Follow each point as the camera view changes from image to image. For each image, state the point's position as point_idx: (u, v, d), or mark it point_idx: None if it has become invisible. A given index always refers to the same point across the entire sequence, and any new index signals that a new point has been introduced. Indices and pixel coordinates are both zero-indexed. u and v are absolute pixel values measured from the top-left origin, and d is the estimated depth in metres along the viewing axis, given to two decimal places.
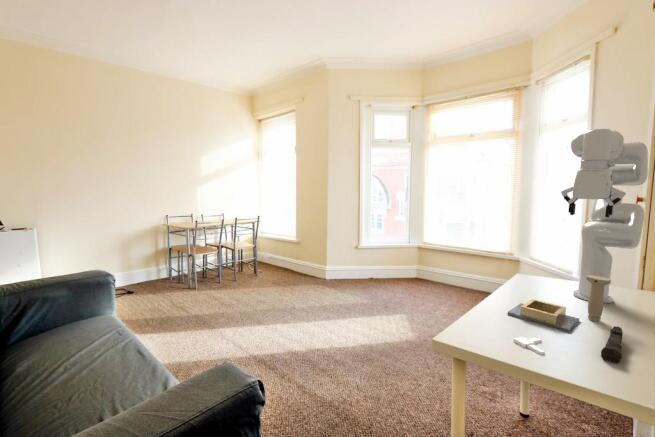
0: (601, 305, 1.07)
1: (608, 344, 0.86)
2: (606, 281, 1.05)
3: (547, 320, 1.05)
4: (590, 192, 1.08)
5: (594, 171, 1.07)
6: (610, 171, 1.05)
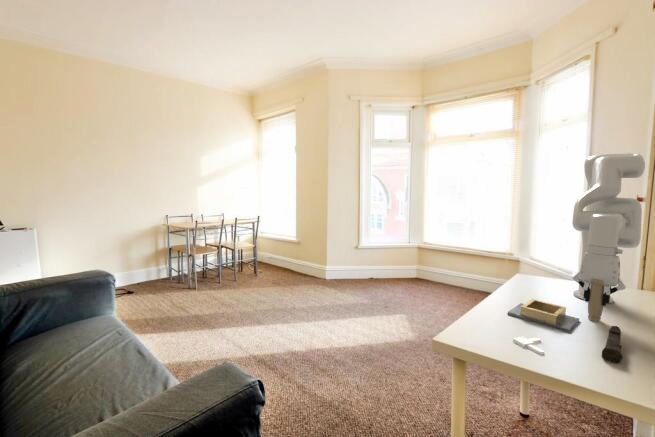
0: (601, 305, 1.07)
1: (608, 344, 0.86)
2: None
3: (547, 320, 1.05)
4: (597, 277, 1.06)
5: (601, 257, 1.05)
6: (618, 258, 1.03)
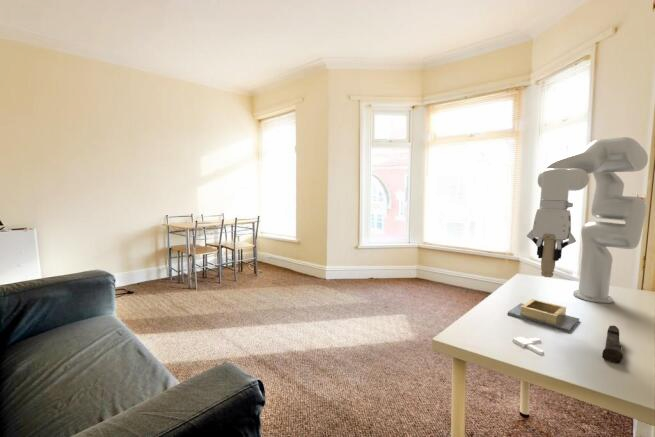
0: (552, 260, 1.07)
1: (608, 344, 0.86)
2: None
3: (547, 320, 1.05)
4: (549, 232, 1.06)
5: (552, 211, 1.05)
6: (568, 212, 1.03)
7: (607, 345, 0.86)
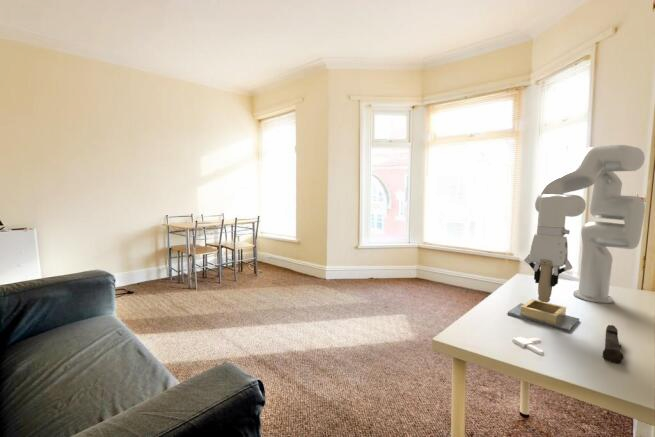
0: (549, 285, 1.07)
1: (608, 344, 0.86)
2: None
3: (547, 320, 1.05)
4: (546, 258, 1.07)
5: (549, 238, 1.06)
6: (565, 238, 1.04)
7: (607, 345, 0.86)
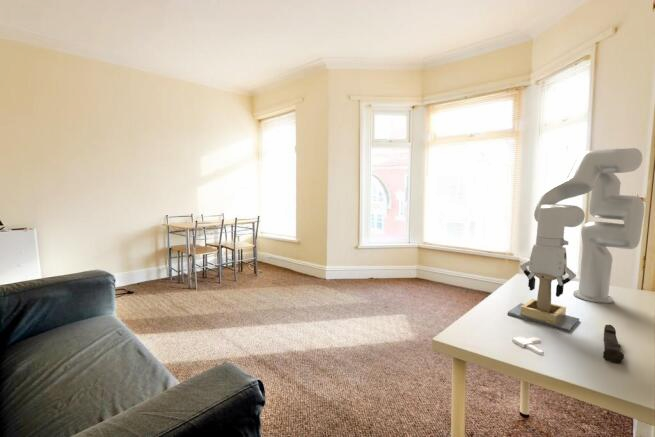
0: (548, 300, 1.08)
1: (608, 344, 0.86)
2: (552, 276, 1.06)
3: (547, 320, 1.05)
4: (545, 268, 1.07)
5: (548, 248, 1.06)
6: (564, 249, 1.04)
7: (607, 345, 0.86)
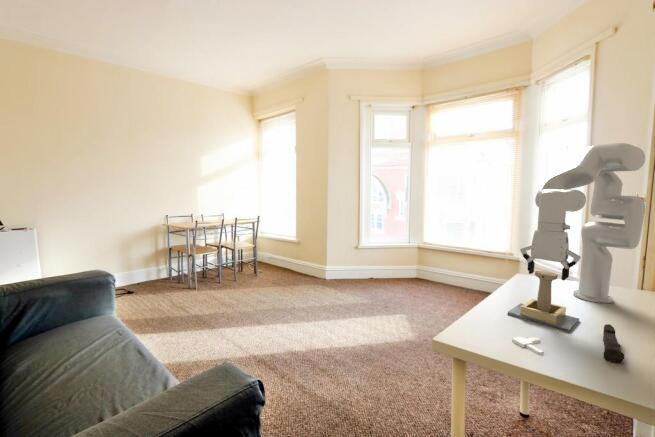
0: (548, 300, 1.08)
1: (608, 344, 0.86)
2: (552, 276, 1.06)
3: (547, 320, 1.05)
4: (547, 253, 1.07)
5: (550, 233, 1.05)
6: (565, 234, 1.04)
7: (607, 345, 0.86)
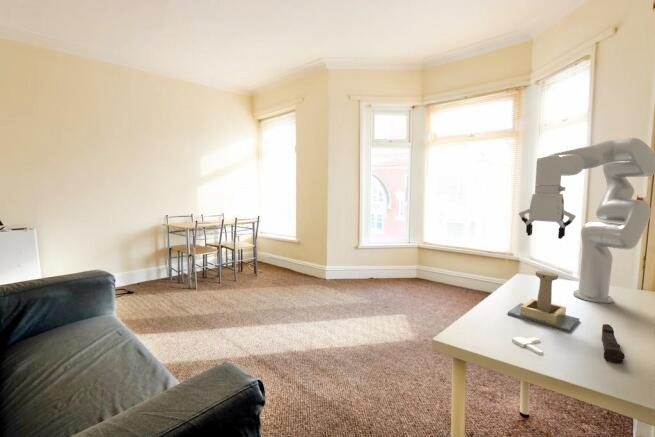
0: (548, 300, 1.08)
1: (608, 344, 0.86)
2: (553, 276, 1.06)
3: (547, 320, 1.05)
4: (544, 214, 1.14)
5: (547, 195, 1.13)
6: (561, 195, 1.12)
7: (607, 345, 0.86)
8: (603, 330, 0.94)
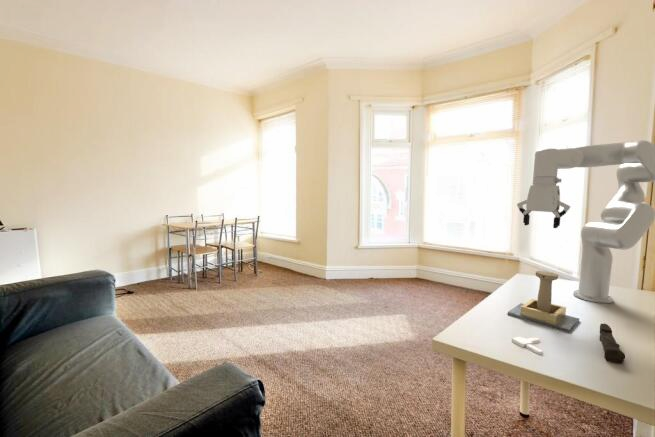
0: (548, 300, 1.08)
1: (608, 344, 0.86)
2: (553, 276, 1.06)
3: (547, 320, 1.05)
4: (540, 205, 1.20)
5: (543, 186, 1.19)
6: (557, 186, 1.17)
7: (607, 345, 0.86)
8: (601, 330, 0.94)
